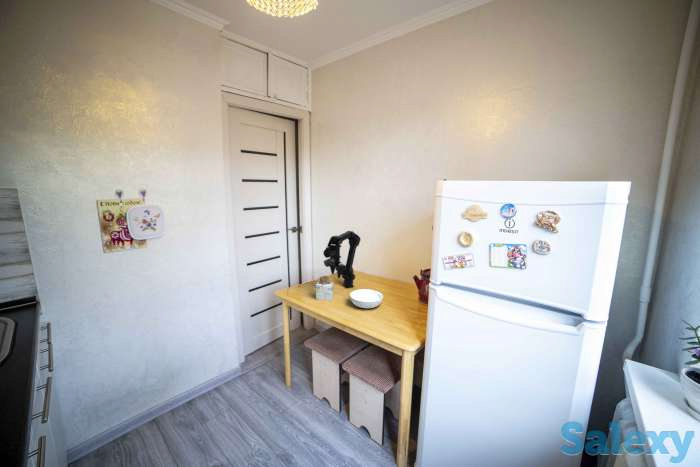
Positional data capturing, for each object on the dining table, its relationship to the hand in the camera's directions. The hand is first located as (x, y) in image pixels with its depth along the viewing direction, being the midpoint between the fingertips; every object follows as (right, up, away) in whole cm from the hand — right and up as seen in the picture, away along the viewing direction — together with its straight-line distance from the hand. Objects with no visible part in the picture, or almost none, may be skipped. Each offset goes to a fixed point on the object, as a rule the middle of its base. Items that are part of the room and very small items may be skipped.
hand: (335, 276), depth 191 cm
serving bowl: (+20, -16, -15) cm, 30 cm away
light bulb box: (-7, -14, -6) cm, 17 cm away
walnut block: (-7, -3, -8) cm, 11 cm away
